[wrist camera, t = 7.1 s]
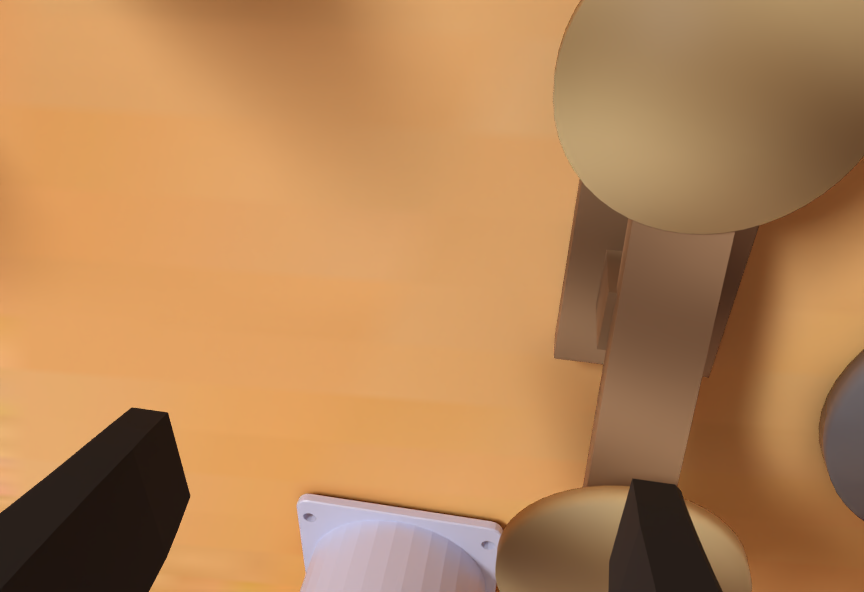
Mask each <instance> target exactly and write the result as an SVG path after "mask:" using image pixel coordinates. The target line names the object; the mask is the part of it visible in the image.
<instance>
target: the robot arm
mask: <svg viewBox="0 0 864 592" xmlns="http://www.w3.org/2000/svg"><path fill="white" fill-rule="evenodd" d="M189 498H190V493H189V489H188V486H187V482H186V478H185V475H184V471H183V467H182V463H181V460H180V456H179V452H178V448H177V445H176V441H175V437H174V434H173V430H172V426H171V422H170V419H169V415H168V413H167V412H160V411H153V410H146V409H139V408H131V409H129V410H128V411H127V412H126V413H124V414H123V415H122V416H121V417H119V418H118V419H117V420H116V421H114V422H113V423H112V424H111V425H109V426H108V427H107V428H106V429H104V430H103V431H102V432H101V433H99V434H98V435H97V436H96V437H95V438H93V439H92V440H91V441H90V442H88V443H87V444H86V445H85V446H84V447H82V448H81V449H80V450H79V451H78V452H76V453H75V454H74V455H73V456H71V457H70V458H69V459H68V460H66V461H65V462H64V463H63V464H62V465H60V466H59V467H58V468H57V469H55V470H54V471H53V472H52V473H51V474H49V475H48V476H47V477H46V478H44V479H43V480H42V481H40V482H39V483H38V484H37V485H35V486H34V487H33V488H32V489H30V490H29V491H28V492H27V493H25V494H24V495H23V496H22V497H20V498H19V499H18V500H16V501H15V502H14V503H13V504H11V505H10V506H9V507H8V508H6V509H5V510H4V511H2V512H1V513H0V592H149V590H150V588H151V586H152V584H153V583H154V581H155V579H156V577H157V575H158V573H159V571H160V569H161V567H162V565H163V563H164V561H165V560H166V558H167V555H168V553H169V550H170V548H171V545H172V543H173V541H174V538H175V536H176V533H177V531H178V528H179V525H180V523H181V520H182V517H183V515H184V512H185V509H186V506H187V504H188V501H189ZM297 512H298V520H299V527H300V534H301V542H302V549H303V556H304V564H305V571H306V575H305V578H304V581H303V584H302V587H301V590H300V592H495V591H496V583H497V582H496V577H495V566H496V557H497V548H498V543H499V539H500V536H501V534H502V532H503V529H502V527H501V526H500V525H499V524H497V523H496V522H492V521H487V520H480V519H473V518H467V517H460V516H454V515H447V514H441V513H434V512H427V511H421V510H414V509H408V508H401V507H394V506H388V505H381V504H375V503H368V502H362V501H355V500H348V499H342V498H335V497H329V496H322V495H315V494H304V495H302V496H300V498H299V500H298V503H297ZM608 592H723V591H722V589H721V587H720V585H719V582H718V580H717V578H716V576H715V574H714V571H713V569H712V567H711V565H710V562H709V560H708V558H707V556H706V553H705V551H704V549H703V547H702V544H701V542H700V539H699V537H698V535H697V532H696V530H695V527H694V525H693V522H692V520H691V517H690V515H689V512H688V509H687V507H686V504H685V501H684V499H683V496H682V493H681V491H680V490H679V488H678V487H677V486H676V485H675V484H668V483H661V482H654V481H647V480H640V479H633V478H632V481H631V485H630V488H629V492H628V495H627V499H626V503H625V506H624V510H623V513H622V517H621V520H620V524H619V528H618V531H617V535H616V538H615V542H614V545H613V549H612V553H611V556H610V560H609V587H608Z"/></svg>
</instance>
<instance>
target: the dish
mask: <svg viewBox="0 0 864 592" xmlns="http://www.w3.org/2000/svg"><path fill="white" fill-rule="evenodd" d="M819 443H820V447H821V451H822V455H823V458H824V461H825V464H826V467H827V470H828V473H829V476H830V479H831V481H832V484H833V486H834V488H835V490H836V492H837V494H838V495H839V497H840V498H841V499H842V501H843V502H844V503H845V505H846V506H847V507H848V508H849V509H850V510H851V511H852V512H854V513H855V514H856V515H857V516H858V517H859V518H861V519H862V520H863V521H864V350H863V351H862V352H861V353H860V354H859V355H858V356H857V357H856V358H855V359H854V360H853V361H852V362H851V363H850V364H849V365H848V366H847V367H846V368H845V370H844V371H843V372H842V374H841V375H840V376H839V377H838V379H837V380H836V382H835V383H834V385H833V387H832V389H831V390H830V392H829V394H828V396H827V398H826V401H825V403H824V406H823V409H822V412H821V417H820V423H819Z"/></svg>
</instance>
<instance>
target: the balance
mask: <svg viewBox="0 0 864 592" xmlns="http://www.w3.org/2000/svg"><path fill="white" fill-rule="evenodd" d="M553 106H554V118H555V123H556V128H557V132H558V137H559V140H560V142H561V145H562V148H563V150H564V153H565V155H566V157H567V159H568V161H569V163H570V164H571V166H572V168H573V170H574V171H575V173H576V174H577V175H578V177H579V178H580V180H579V186H578V193H577V199H576V206H575V212H574V218H573V225H572V231H571V237H570V244H569V250H568V256H567V263H566V269H565V276H564V282H563V288H562V295H561V301H560V307H559V314H558V320H557V326H556V333H555V344H554V358H556V359H564V360H572V361H580V362H588V363H596V364H604V365H603V371H602V377H601V383H600V389H599V395H598V400H597V406H596V412H595V418H594V424H593V430H592V436H591V442H590V448H589V454H588V460H587V466H586V472H585V478H584V483H583V488H577V489H571V490H567V491H563V492H559V493H556V494H553V495H550V496H548V497H545V498H542V499H540V500H538V501H536V502H534V503H532V504H530V505H529V506H527V507H526V508H524V509H523V510H522V511H520V512H519V513H518V514H517V515H516V516H515V517H513V518H512V519H511V520H510V522H509V523H508V524H507V526H506V527H505V528H504V530H503V532H502V534H501V536H500V539H499V543H498V548H497V557H496V566H495V577H496V582H497V586H498V588H499V591H500V592H608V587H609V560H610V556H611V553H612V549H613V545H614V542H615V538H616V535H617V531H618V528H619V524H620V520H621V517H622V513H623V510H624V506H625V503H626V499H627V495H628V492H629V488H630V485H631V481H632V478H633V479H640V480H647V481H654V482H661V483H668V484H675V485H676V486H677V485H678V481H679V476H680V472H681V467H682V463H683V459H684V454H685V450H686V445H687V441H688V437H689V432H690V428H691V423H692V419H693V415H694V410H695V406H696V401H697V397H698V393H699V388H700V384H701V379H702V377H709V375H710V372H711V369H712V366H713V363H714V360H715V357H716V354H717V351H718V348H719V345H720V342H721V339H722V336H723V333H724V330H725V327H726V324H727V321H728V318H729V315H730V312H731V309H732V306H733V303H734V300H735V297H736V294H737V291H738V288H739V285H740V282H741V279H742V276H743V273H744V270H745V267H746V264H747V261H748V258H749V255H750V252H751V249H752V246H753V242H754V239H755V236H756V233H757V230H758V227H759V225H762V224H765V223H768V222H770V221H773V220H776V219H778V218H781V217H783V216H786V215H788V214H790V213H792V212H794V211H796V210H798V209H800V208H801V207H803V206H805V205H807V204H808V203H810V202H811V201H813V200H815V199H816V198H818V197H819V196H821V195H822V194H824V193H825V192H826V191H827V190H829V189H830V188H831V187H833V186H834V185H835V184H836V183H838V182H839V181H840V180H841V179H842V178H843V177H844V176H845V175H846V174H847V173H848V172H849V171H850V170H851V169H852V168H853V167H854V166H856V165H857V163H858V162H859V161H860V160H861V158H862V157H863V156H864V0H581V1H580V2H579V4H578V5H577V7H576V9H575V11H574V13H573V15H572V17H571V19H570V21H569V23H568V25H567V27H566V30H565V33H564V36H563V39H562V42H561V45H560V48H559V52H558V57H557V62H556V68H555V76H554V92H553ZM684 501H685V504H686V507H687V509H688V512H689V515H690V517H691V520H692V522H693V525H694V527H695V530H696V532H697V535H698V537H699V539H700V542H701V544H702V547H703V549H704V551H705V553H706V556H707V558H708V560H709V562H710V565H711V567H712V569H713V571H714V574H715V576H716V578H717V580H718V582H719V585H720V587H721V589H722V591H723V592H752V582H751V575H750V570H749V565H748V560H747V556H746V553H745V550H744V547H743V545H742V543H741V542H740V540H739V538H738V536H737V535H736V534H735V533H734V532H733V530H732V529H731V528H730V527H729V526H728V525H727V524H726V523H724V522H723V521H722V520H721V519H720V518H719V517H717V516H716V515H714V514H713V513H711V512H710V511H708V510H707V509H705V508H703V507H701V506H699V505H697V504H695V503H693V502H691V501H688V500H686V499H684Z"/></svg>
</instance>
